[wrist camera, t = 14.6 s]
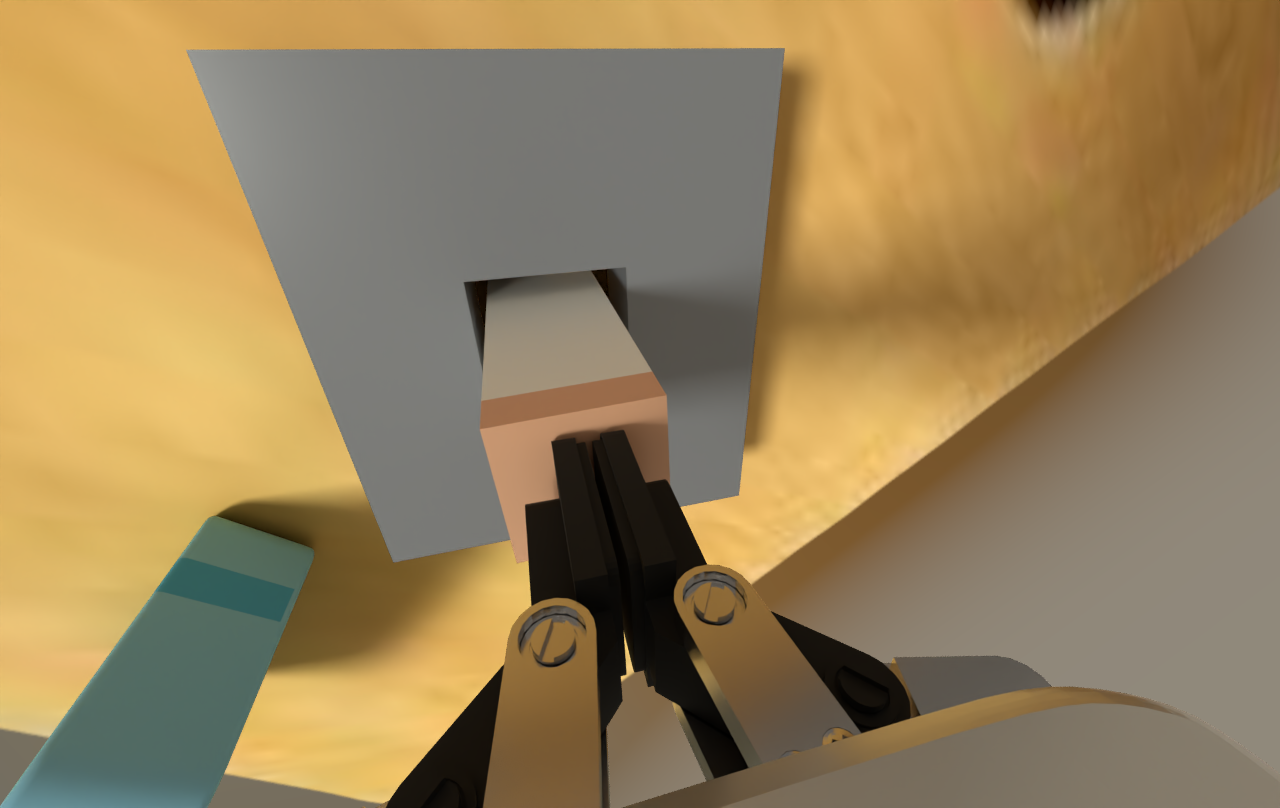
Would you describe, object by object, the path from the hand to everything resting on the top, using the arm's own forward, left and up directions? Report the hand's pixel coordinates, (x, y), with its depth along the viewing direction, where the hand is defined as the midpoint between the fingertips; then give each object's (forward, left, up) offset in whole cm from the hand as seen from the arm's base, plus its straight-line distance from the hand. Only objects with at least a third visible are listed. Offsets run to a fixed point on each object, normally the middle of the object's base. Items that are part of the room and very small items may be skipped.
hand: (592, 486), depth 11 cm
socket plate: (0, 0, -12) cm, 12 cm away
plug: (0, 0, -12) cm, 12 cm away
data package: (+13, -18, -12) cm, 25 cm away
